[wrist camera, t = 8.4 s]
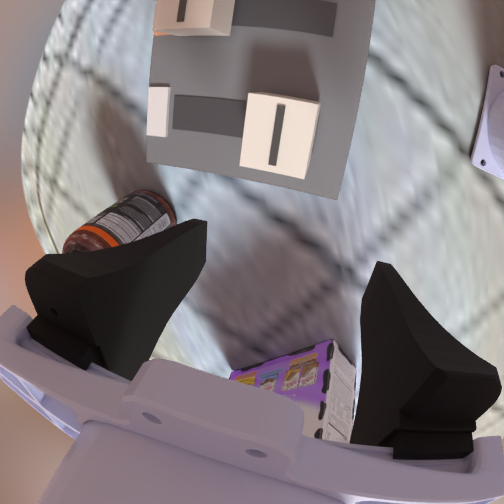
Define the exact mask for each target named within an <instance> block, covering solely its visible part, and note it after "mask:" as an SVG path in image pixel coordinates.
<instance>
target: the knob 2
mask: <svg viewBox="0 0 504 504" xmlns="http://www.w3.org/2000/svg"><path fill="white" fill-rule="evenodd" d="M320 105H321V102H317V101H312V100H307V99H302V98H296V97H291V96H285V95H279V94H272V93H265V92H255V93H248V100H247V108H246V116H245V124H244V132H243V140H242V148H241V157H240V165H239V166H243V167H248V168H253V169H258V170H263V171H268V172H273V173H278V174H282V175H287V176H291V177H296V178H300V179H304V178H305V175H306V173H307V170H308V167H309V163H310V158H311V153H312V148H313V143H314V138H315V132H316V127H317V122H318V116H319V111H320Z"/></svg>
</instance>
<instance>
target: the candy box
mask: <svg viewBox="0 0 504 504" xmlns="http://www.w3.org/2000/svg"><path fill="white" fill-rule="evenodd" d="M229 379H230V380H233V381H237V382H240V383H244V384H247V385H251V386H255V387H258V388H262V389H266V390H270V391H273V392H275V393H278V394H280V395H283V396H285V397H288V398H290V399H291V400H292V401H293V402H294V403H295V404H297V405H298V406H299V407H300V408H301V409H302V410H303V411H304V425H303V430H302V434H303V435H305V436H308V437H311V438H317V439H323V440H329V441H335V442H342V443H349V442H350V438H351V434H352V429H353V418H354V405H355V388H356V368H355V367H354V366H353V364H352V363H351V361H350V360H349V359H348V358H347V356H346V355H345V354H344V352H343V351H342V349H341V348H340V347H339V345H338V344H337V343H336V342H335V340H328V341H326V342H322V343H320V344H317V345H314V346H312V347H309V348H307V349H304V350H300V351H297V352H294V353H292V354H289V355H286V356H283V357H279V358H276V359H273V360H271V361H267V362H264V363H261V364H257V365H254V366H251V367H248V368H244V369H241V370H237V371H234V372H231V375H230V377H229Z"/></svg>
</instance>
